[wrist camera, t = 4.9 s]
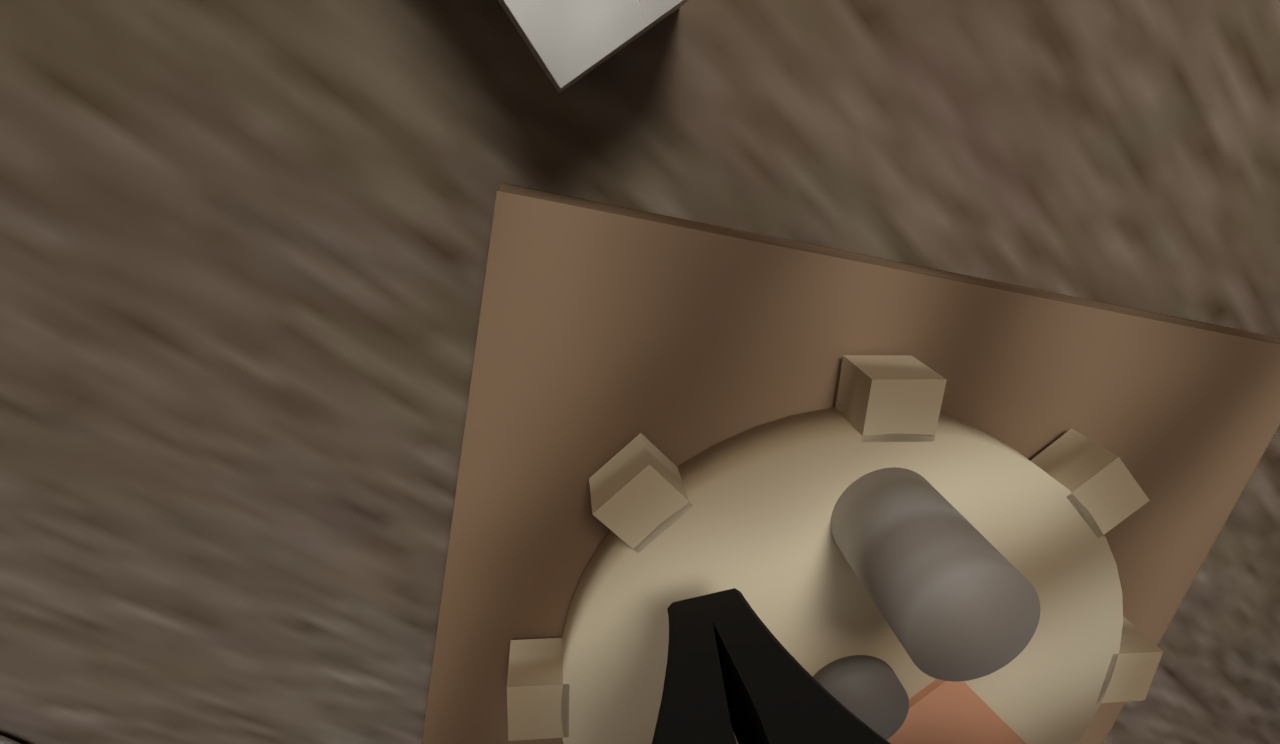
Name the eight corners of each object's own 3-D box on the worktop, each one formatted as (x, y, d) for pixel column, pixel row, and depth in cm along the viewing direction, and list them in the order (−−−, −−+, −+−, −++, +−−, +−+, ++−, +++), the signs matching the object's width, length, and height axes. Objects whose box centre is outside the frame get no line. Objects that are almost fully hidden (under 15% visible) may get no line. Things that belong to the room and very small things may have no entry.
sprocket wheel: (1219, 630, 20) (1424, 789, 15) (778, 938, 22) (837, 1156, 18) (904, 199, 14) (1073, 240, 10) (369, 673, 17) (298, 886, 12)
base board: (1261, 333, 18) (1345, 360, 16) (987, 861, 25) (1024, 925, 23) (502, 183, 15) (494, 193, 13) (411, 843, 21) (396, 917, 19)
